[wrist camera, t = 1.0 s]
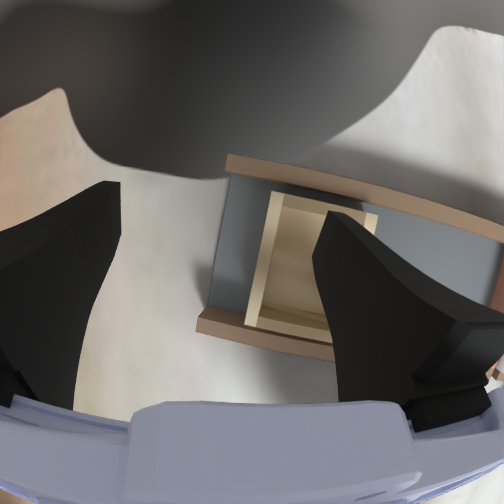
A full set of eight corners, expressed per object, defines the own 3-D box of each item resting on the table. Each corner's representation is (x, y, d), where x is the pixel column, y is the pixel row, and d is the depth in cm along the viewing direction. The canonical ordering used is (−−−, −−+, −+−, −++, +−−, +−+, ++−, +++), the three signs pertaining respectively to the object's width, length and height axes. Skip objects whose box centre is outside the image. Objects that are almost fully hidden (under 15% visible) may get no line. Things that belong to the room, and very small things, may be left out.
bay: (495, 366, 24) (518, 388, 20) (206, 316, 27) (189, 339, 22) (533, 242, 22) (564, 249, 17) (236, 160, 25) (223, 150, 20)
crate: (336, 324, 25) (343, 345, 21) (251, 306, 26) (243, 324, 22) (364, 213, 24) (378, 215, 20) (274, 193, 24) (271, 191, 20)
